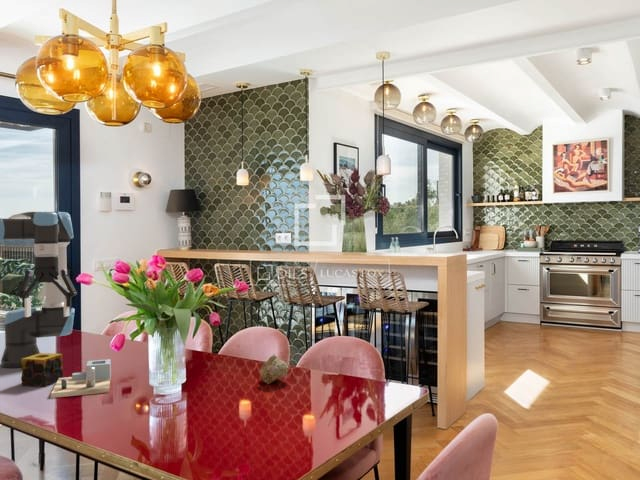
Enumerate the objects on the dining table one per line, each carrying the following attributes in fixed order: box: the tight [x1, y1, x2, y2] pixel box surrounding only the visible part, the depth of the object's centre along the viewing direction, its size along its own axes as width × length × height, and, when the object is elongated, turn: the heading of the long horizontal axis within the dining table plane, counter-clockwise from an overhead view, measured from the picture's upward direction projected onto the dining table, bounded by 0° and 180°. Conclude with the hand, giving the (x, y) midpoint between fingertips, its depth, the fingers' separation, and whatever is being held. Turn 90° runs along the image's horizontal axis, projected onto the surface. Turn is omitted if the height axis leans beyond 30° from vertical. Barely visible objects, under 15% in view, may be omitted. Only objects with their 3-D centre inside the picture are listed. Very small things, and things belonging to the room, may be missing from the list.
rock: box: [259, 353, 291, 385], centre depth 197 cm, size 12×10×10 cm
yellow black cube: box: [20, 352, 64, 388], centre depth 199 cm, size 10×10×10 cm
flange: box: [71, 358, 112, 381], centre depth 199 cm, size 13×8×6 cm, turn 109°
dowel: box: [61, 379, 67, 389], centre depth 185 cm, size 2×2×3 cm
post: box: [85, 367, 95, 388], centre depth 188 cm, size 3×3×6 cm
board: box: [50, 375, 112, 399], centre depth 193 cm, size 20×18×2 cm
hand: (47, 316), depth 188 cm, fingers open, 13 cm apart
